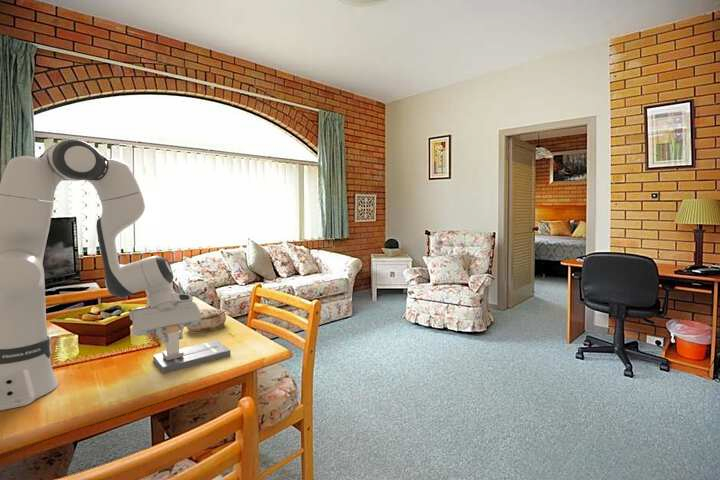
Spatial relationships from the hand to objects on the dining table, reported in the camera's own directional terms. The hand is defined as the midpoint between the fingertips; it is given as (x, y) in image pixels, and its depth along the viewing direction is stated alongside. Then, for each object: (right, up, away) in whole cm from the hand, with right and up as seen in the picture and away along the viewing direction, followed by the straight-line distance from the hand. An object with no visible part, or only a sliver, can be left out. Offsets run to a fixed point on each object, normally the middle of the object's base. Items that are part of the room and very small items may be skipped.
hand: (173, 340), depth 119 cm
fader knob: (0, -5, +1) cm, 5 cm away
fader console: (+4, -8, +5) cm, 10 cm away
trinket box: (-4, -5, +35) cm, 36 cm away
